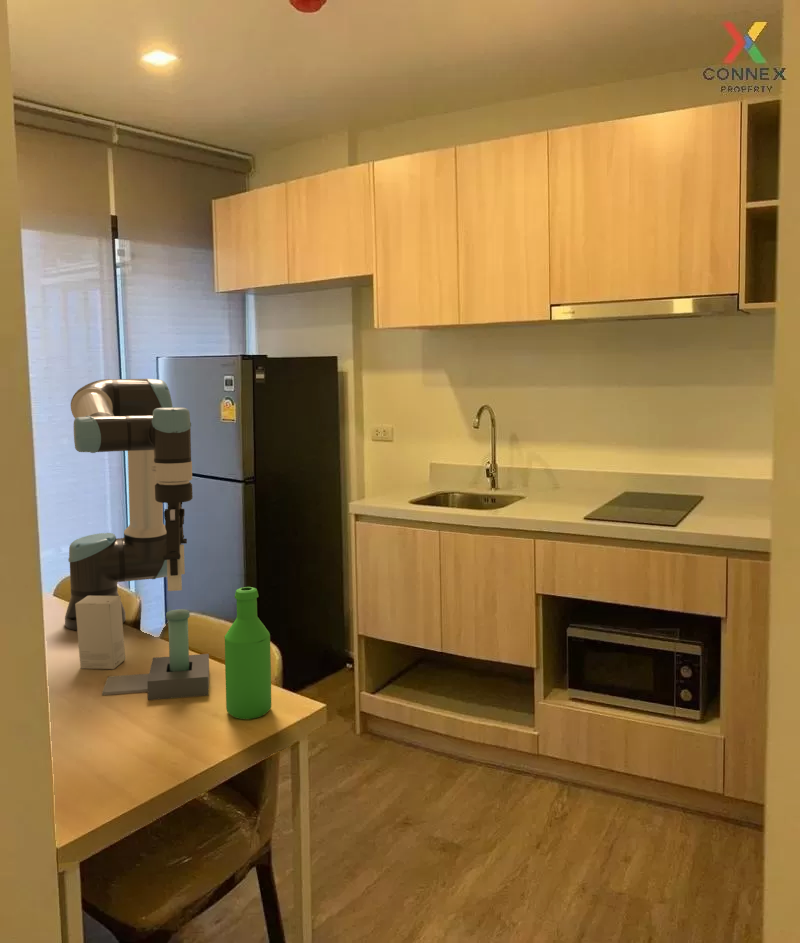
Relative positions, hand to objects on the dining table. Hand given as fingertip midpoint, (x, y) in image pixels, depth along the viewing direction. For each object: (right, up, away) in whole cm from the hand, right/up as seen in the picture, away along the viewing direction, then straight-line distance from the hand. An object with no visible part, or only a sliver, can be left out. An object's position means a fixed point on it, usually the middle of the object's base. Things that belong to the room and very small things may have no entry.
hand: (176, 582), depth 172 cm
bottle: (+17, -25, -10) cm, 32 cm away
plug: (0, -23, +3) cm, 23 cm away
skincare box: (-21, -21, +15) cm, 33 cm away
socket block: (0, -23, +3) cm, 23 cm away
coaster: (-11, -23, +3) cm, 25 cm away
